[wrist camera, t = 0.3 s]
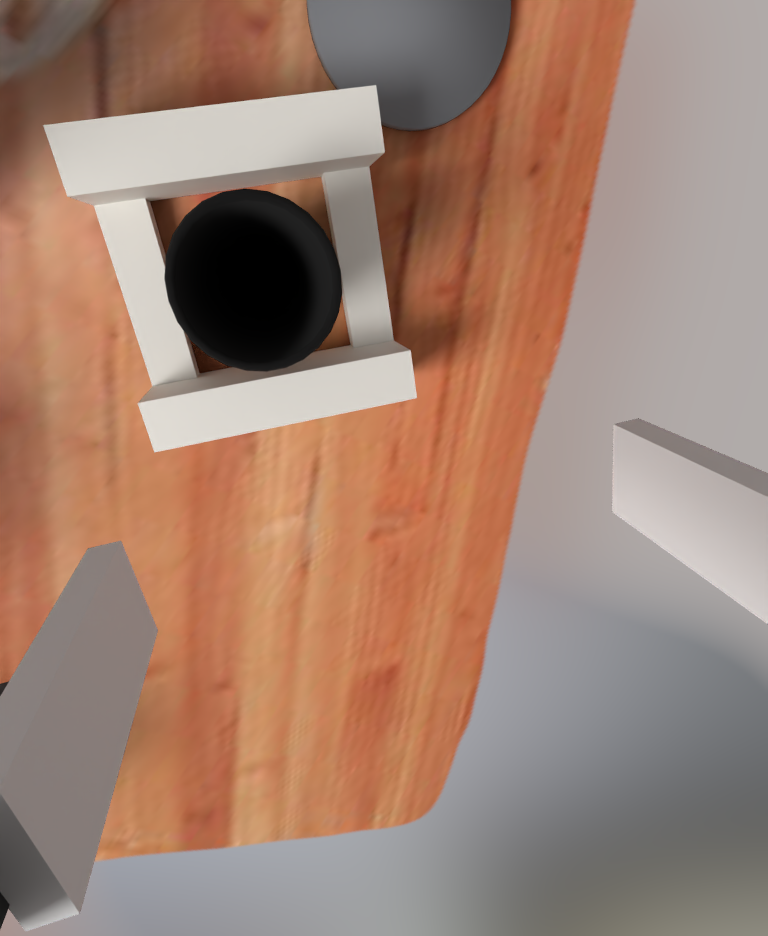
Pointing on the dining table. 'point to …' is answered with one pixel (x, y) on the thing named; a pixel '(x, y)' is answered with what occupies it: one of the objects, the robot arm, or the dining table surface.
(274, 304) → the cup
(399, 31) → the felt pad
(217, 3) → the dining table surface
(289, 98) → the block
